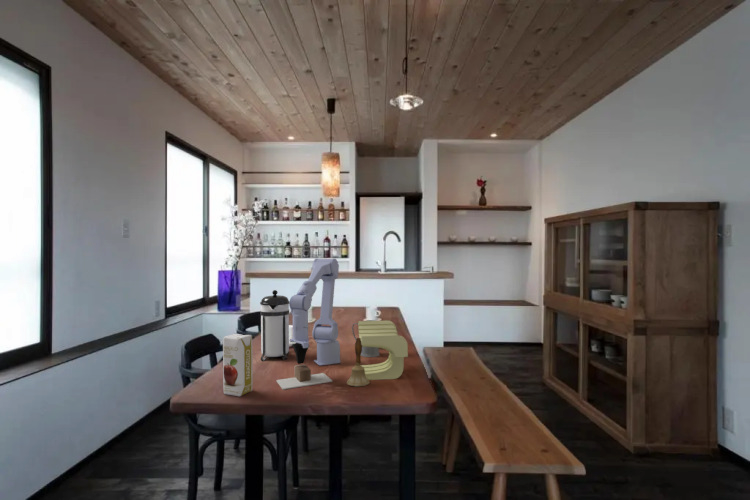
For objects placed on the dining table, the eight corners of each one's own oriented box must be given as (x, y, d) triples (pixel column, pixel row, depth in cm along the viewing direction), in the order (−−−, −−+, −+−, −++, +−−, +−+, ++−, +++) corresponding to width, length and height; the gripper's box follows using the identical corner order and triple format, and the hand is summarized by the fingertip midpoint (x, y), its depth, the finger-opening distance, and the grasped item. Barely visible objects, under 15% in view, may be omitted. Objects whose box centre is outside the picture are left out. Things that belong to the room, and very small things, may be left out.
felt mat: (323, 374, 152) (323, 372, 152) (332, 381, 143) (332, 380, 143) (276, 381, 144) (276, 380, 144) (282, 389, 135) (282, 388, 135)
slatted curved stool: (407, 386, 137) (407, 335, 137) (362, 388, 136) (361, 336, 136) (396, 362, 167) (395, 320, 167) (358, 363, 166) (358, 321, 166)
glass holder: (373, 358, 174) (372, 324, 174) (347, 353, 181) (346, 321, 181) (383, 353, 181) (383, 321, 181) (357, 349, 189) (357, 318, 189)
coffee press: (300, 356, 178) (300, 289, 178) (270, 363, 166) (270, 292, 166) (278, 349, 189) (278, 287, 189) (248, 356, 177) (248, 290, 177)
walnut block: (305, 364, 149) (310, 369, 143) (305, 375, 149) (310, 380, 143) (294, 365, 147) (299, 370, 141) (294, 376, 147) (299, 382, 141)
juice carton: (235, 387, 138) (235, 332, 138) (255, 390, 134) (255, 334, 134) (219, 394, 131) (219, 337, 131) (240, 398, 127) (240, 339, 127)
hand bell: (358, 377, 147) (357, 334, 147) (374, 382, 142) (374, 338, 142) (341, 383, 141) (341, 338, 141) (358, 388, 135) (358, 342, 135)
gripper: (285, 324, 152) (285, 359, 152) (295, 331, 139) (295, 369, 139) (302, 323, 155) (303, 357, 155) (314, 329, 142) (314, 367, 142)
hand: (300, 363), depth 147 cm, fingers closed
